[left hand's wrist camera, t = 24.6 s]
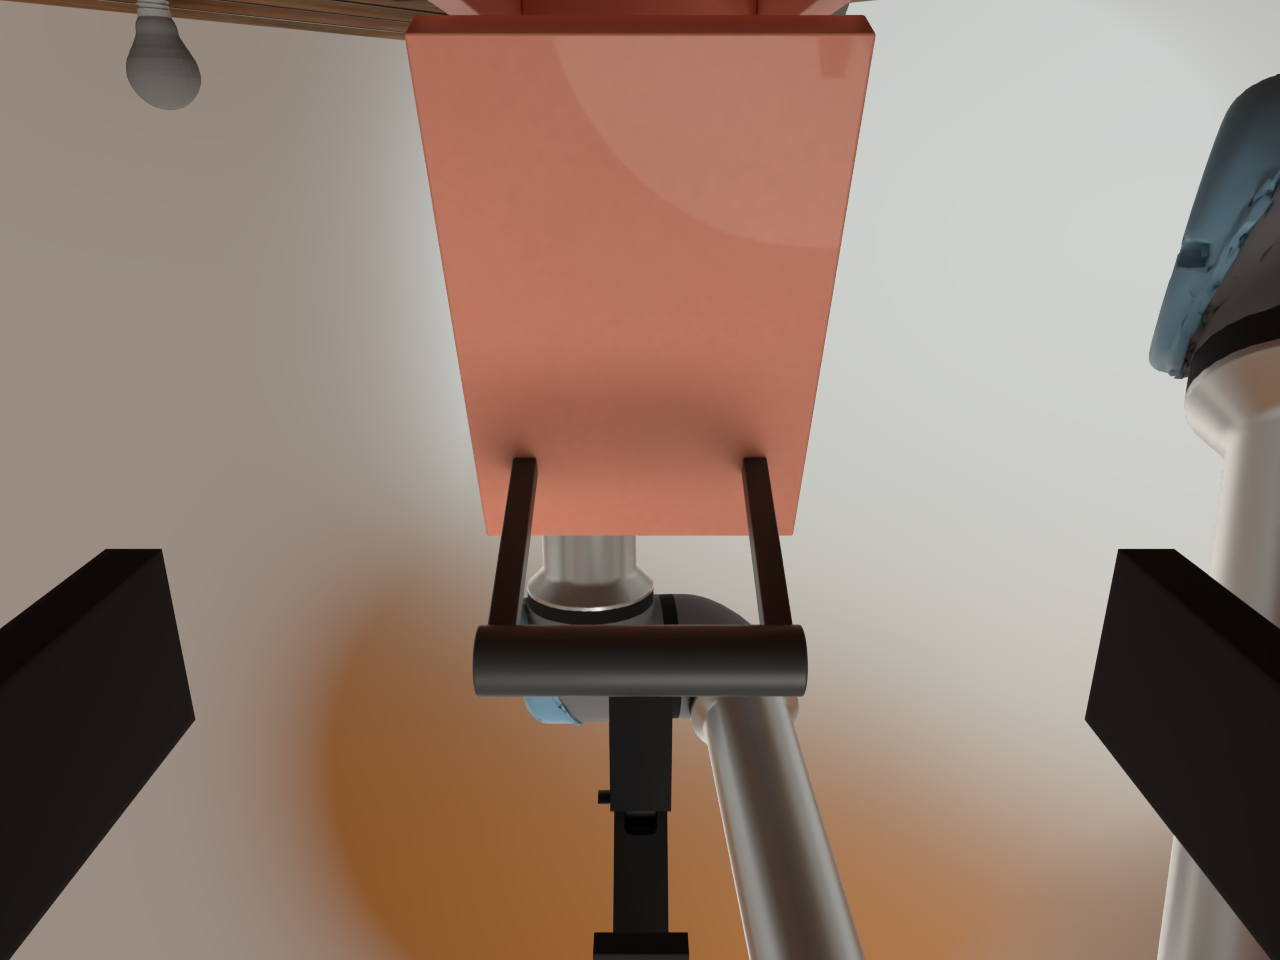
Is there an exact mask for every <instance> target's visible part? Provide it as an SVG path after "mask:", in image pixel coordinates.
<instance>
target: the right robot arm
mask: <svg viewBox="0 0 1280 960" xmlns="http://www.w3.org/2000/svg"><path fill="white" fill-rule="evenodd" d="M849 3H850V2H849ZM849 3H847V4H846V5H844V6H843V7H841V8H840V9H838V10H837V11H835V12H834V13H832V14H831V15H845V14H846V11H847V8H848V5H849ZM542 544H543V567H542V568H541V569H540V570H539V571H538V572H537V573H536V574H535V575H534V576H533V577H532V578H531V579H530V581H529V582H528V597H525V598H523V604H522V612H521V620H520V625H751V624H750V623H749V622H747V621H746V620H745V619H744V618H742V617H741V616H740V615H738V614H737V613H735V612H733V611H732V610H730V609H729V608H727V607H725V606H723V605H721V604H719V603H717V602H715V601H713V600H710V599H707V598H704V597H701V596H696V595H690V594H660V595H658V594H653V580H652V578H651V576H650V575H649V574H648V573H647V572H646V571H644V570H643V569H642V568H641V567H640V566H639V565H638V564H637V535H542ZM524 700H525V703H526V706H527V708H528V710H529V712H530V713H531V715H532V716H533V717H534V718H535V719H536V720H538V721H540V722H543V723H572V724H573V725H576V726H578V725H582V724H583V722H603V721H609V745H610V790H599V792H598V804H610V811H613V812H614V906H613V932H609V933H608V932H595V933H594V948H593V960H689V946H688V933H687V932H684V933H683V932H677V933H676V932H675V933H674V932H668V847H667V811H671V773H672V772H671V771H672V718H688V719H691V722H692V726H693V729H694V731H695V733H696V734H697V735H698V737H699V738H700V739H701V740H702V741H703V742H705V743H706V744H708V749H709V755H710V759H711V765H712V770H713V775H714V780H715V785H716V790H717V795H718V800H719V805H720V810H721V816H722V821H723V826H724V831H725V836H726V841H727V846H728V851H729V857H730V862H731V867H732V872H733V877H734V882H735V887H736V892H737V897H738V903H739V908H740V913H741V918H742V923H743V928H744V933H745V938H746V943H747V948H748V954H749V959H750V960H866V959H865V955H864V952H863V949H862V946H861V942H860V939H859V936H858V933H857V929H856V926H855V923H854V920H853V916H852V913H851V910H850V907H849V903H848V900H847V897H846V894H845V890H844V887H843V884H842V880H841V877H840V874H839V871H838V867H837V864H836V861H835V858H834V854H833V851H832V848H831V845H830V841H829V838H828V835H827V832H826V829H825V825H824V822H823V819H822V815H821V812H820V809H819V806H818V802H817V799H816V796H815V793H814V789H813V786H812V783H811V780H810V776H809V773H808V770H807V767H806V763H805V760H804V757H803V754H802V750H801V747H800V744H799V741H798V737H797V734H796V731H795V727H794V722H795V719H796V717H797V714H798V707H799V706H798V699H797V696H669V697H524Z"/></svg>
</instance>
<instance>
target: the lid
mask: <svg viewBox="0 0 1280 960" xmlns="http://www.w3.org/2000/svg"><path fill="white" fill-rule="evenodd" d="M405 40H406V47H407V53H408V59H409V65H410V71H411V77H412V83H413V89H414V95H415V101H416V107H417V113H418V119H419V125H420V132H421V138H422V144H423V150H424V156H425V162H426V168H427V174H428V180H429V186H430V192H431V198H432V204H433V211H434V217H435V223H436V229H437V235H438V241H439V247H440V253H441V259H442V265H443V271H444V277H445V284H446V289H447V295H448V302H449V308H450V314H451V320H452V326H453V332H454V338H455V344H456V350H457V356H458V363H459V369H460V374H461V381H462V387H463V393H464V399H465V405H466V411H467V417H468V423H469V429H470V435H471V442H472V448H473V454H474V460H475V466H476V472H477V478H478V484H479V490H480V496H481V502H482V508H483V514H484V521H485V527H486V533H487V535H501V541H500V548H499V554H498V561H497V568H496V574H495V581H494V587H493V594H492V601H491V607H490V614H489V620H488V625H480V626H479V627H478V629H477V632H476V635H475V641H474V648H473V684H474V690H475V693H476V695H477V696H479V697H669V696H803V695H804V693H805V691H806V686H807V676H808V658H807V646H806V639H805V634H804V631H803V628H802V626H801V625H792V618H791V612H790V605H789V599H788V592H787V586H786V579H785V573H784V567H783V560H782V554H781V547H780V541H779V535H792V534H793V530H794V524H795V518H796V512H797V506H798V500H799V494H800V488H801V482H802V476H803V470H804V464H805V458H806V452H807V446H808V440H809V433H810V427H811V421H812V415H813V409H814V403H815V397H816V391H817V385H818V379H819V373H820V367H821V361H822V355H823V349H824V343H825V337H826V331H827V325H828V319H829V313H830V307H831V301H832V295H833V289H834V283H835V277H836V271H837V265H838V258H839V252H840V246H841V240H842V234H843V228H844V222H845V216H846V210H847V204H848V198H849V192H850V186H851V180H852V174H853V168H854V162H855V156H856V150H857V144H858V138H859V132H860V126H861V120H862V113H863V108H864V102H865V95H866V89H867V83H868V77H869V71H870V65H871V59H872V53H873V47H874V41H875V33H874V31H873V29H872V27H871V26H870V24H869V22H868V21H867V19H866V17H865V16H864V15H416V16H415V17H414V19H413V20H412V22H411V24H410V26H409V27H408V29H407V31H406V33H405ZM531 535H749V538H750V546H751V554H752V563H753V571H754V579H755V587H756V596H757V604H758V612H759V620H760V625H520V620H521V612H522V604H523V595H524V587H525V578H526V570H527V562H528V553H529V545H530V536H531Z"/></svg>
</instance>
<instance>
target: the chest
mask: <svg viewBox="0 0 1280 960" xmlns="http://www.w3.org/2000/svg"><path fill="white" fill-rule="evenodd" d="M428 1H430V2H431V3H433V4H434V5H436V6H437V7H439V8H440V9H442V10H443V11H445V12H446V13H448V14H449V15H831V14H832V13H834V12H835V11H837V10H838V9H840V8H841V7H843V6H844V5H846V4H847V3H849V2H850V1H852V0H428Z"/></svg>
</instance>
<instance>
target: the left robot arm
mask: <svg viewBox="0 0 1280 960" xmlns="http://www.w3.org/2000/svg"><path fill="white" fill-rule="evenodd" d="M1149 361H1150V364H1151V365H1152V366H1153V367H1154V368H1155V369H1157V370H1159V371H1163V372H1166V373H1168V374H1169V375H1170V376H1175V378H1176V379H1183V378H1184V377H1188V382H1187V389H1186V396H1185V404H1184V409H1185V415H1186V419H1187V422H1188V424H1189V425H1190V427H1191V428H1192V429H1193V431H1194V432H1195V433H1196V434H1197V435H1198V436H1199V437H1200V438H1201V439H1202V440H1203V441H1204V442H1206V443H1207V444H1208V445H1209V446H1210V447H1211V448H1213V449H1214V450H1215V451H1216V452H1217V453H1219V454H1220V455H1221V456H1222V457H1223V459H1224V461H1223V469H1222V476H1221V484H1220V491H1219V499H1218V506H1217V514H1216V522H1215V529H1214V537H1213V544H1212V552H1211V559H1210V566H1209V574H1207V573H1205V572H1204V571H1203V570H1201V569H1200V568H1199V567H1197V566H1196V565H1195V564H1193V563H1192V562H1191V561H1189V560H1188V559H1187V558H1185V557H1184V556H1183V555H1181V554H1180V553H1179V552H1177V551H1176V550H1175V549H1118V553H1117V558H1116V563H1115V569H1114V574H1113V579H1112V584H1111V589H1110V594H1109V599H1108V604H1107V609H1106V614H1105V619H1104V624H1103V629H1102V634H1101V640H1100V645H1099V650H1098V655H1097V660H1096V665H1095V670H1094V675H1093V680H1092V685H1091V690H1090V695H1089V700H1088V705H1087V711H1086V716H1085V721H1086V722H1087V723H1088V724H1089V726H1090V727H1091V728H1092V730H1093V731H1094V732H1095V733H1096V735H1097V736H1098V737H1099V739H1100V740H1101V741H1102V743H1103V744H1104V745H1105V746H1106V748H1107V749H1108V750H1109V752H1110V753H1111V754H1112V755H1113V757H1114V758H1115V759H1116V761H1117V762H1118V763H1119V764H1120V766H1121V767H1122V768H1123V770H1124V771H1125V772H1126V774H1127V775H1128V776H1129V777H1130V779H1131V780H1132V781H1133V783H1134V784H1135V785H1136V786H1137V788H1138V789H1139V790H1140V792H1141V793H1142V794H1143V795H1144V797H1145V798H1146V799H1147V801H1148V802H1149V803H1150V804H1151V806H1152V807H1153V808H1154V810H1155V811H1156V812H1157V814H1158V815H1159V816H1160V817H1161V819H1162V820H1163V821H1164V823H1165V824H1166V825H1167V826H1168V828H1169V829H1170V830H1171V832H1172V833H1173V834H1174V837H1173V845H1172V852H1171V860H1170V867H1169V874H1168V882H1167V889H1166V897H1165V905H1164V912H1163V920H1162V927H1161V935H1160V942H1159V950H1158V957H1157V960H1280V74H1277V75H1276V76H1273V77H1269V78H1267V79H1264V80H1262V81H1260V82H1259V83H1257V84H1255V85H1252V86H1251V87H1249V88H1248V89H1246V90H1245V91H1244V92H1243V93H1242V94H1241V95H1240V96H1239V97H1237V98H1236V99H1235V101H1234V102H1233V103H1232V104H1231V106H1230V108H1229V109H1228V111H1227V112H1226V115H1225V117H1224V119H1223V121H1222V124H1221V126H1220V129H1219V131H1218V134H1217V137H1216V139H1215V142H1214V145H1213V148H1212V150H1211V153H1210V156H1209V159H1208V162H1207V165H1206V168H1205V170H1204V173H1203V177H1202V180H1201V183H1200V186H1199V189H1198V192H1197V195H1196V198H1195V201H1194V204H1193V207H1192V210H1191V214H1190V217H1189V220H1188V223H1187V227H1186V230H1185V233H1184V237H1183V240H1182V247H1181V250H1180V253H1179V254H1178V256H1177V260H1176V263H1175V266H1174V270H1173V273H1172V276H1171V279H1170V281H1169V284H1168V287H1167V290H1166V293H1165V297H1164V300H1163V303H1162V307H1161V310H1160V314H1159V317H1158V321H1157V324H1156V328H1155V332H1154V335H1153V339H1152V343H1151V347H1150V352H1149ZM194 721H195V716H194V711H193V705H192V700H191V695H190V690H189V685H188V680H187V675H186V670H185V665H184V660H183V655H182V650H181V645H180V640H179V634H178V629H177V624H176V619H175V614H174V609H173V604H172V599H171V594H170V589H169V584H168V579H167V574H166V569H165V564H164V558H163V553H162V549H105V550H104V551H103V552H101V553H100V554H99V555H97V556H96V557H95V558H93V559H92V560H91V561H89V562H88V563H87V564H85V565H84V566H83V567H81V568H80V569H79V570H77V571H76V572H75V573H73V574H72V575H71V576H69V577H68V578H67V579H65V580H64V581H63V582H62V583H60V584H59V585H58V586H56V587H55V588H54V589H52V590H51V591H50V592H48V593H47V594H46V595H44V596H43V597H42V598H40V599H39V600H38V601H36V602H35V603H34V604H32V605H31V606H30V607H28V608H27V609H26V610H24V611H23V612H22V613H20V614H19V615H18V616H16V617H15V618H14V619H13V620H11V621H10V622H9V623H7V624H6V625H5V626H3V627H2V628H1V629H0V960H9V959H10V958H11V957H12V955H13V954H14V953H15V952H16V950H17V949H18V948H19V946H20V945H21V944H22V943H23V941H24V940H25V939H26V937H27V936H28V935H29V934H30V932H31V931H32V930H33V928H34V927H35V926H36V925H37V923H38V922H39V921H40V919H41V918H42V917H43V916H44V914H45V913H46V912H47V910H48V909H49V908H50V906H51V905H52V904H53V903H54V901H55V900H56V899H57V897H58V896H59V895H60V893H61V892H62V891H63V890H64V888H65V887H66V886H67V885H68V883H69V882H70V881H71V879H72V878H73V877H74V876H75V874H76V873H77V872H78V870H79V869H80V868H81V866H82V865H83V864H84V863H85V861H86V860H87V859H88V857H89V856H90V855H91V854H92V852H93V851H94V850H95V848H96V847H97V846H98V844H99V843H100V842H101V841H102V839H103V838H104V837H105V835H106V834H107V833H108V832H109V830H110V829H111V828H112V826H113V825H114V824H115V823H116V821H117V820H118V819H119V817H120V816H121V815H122V814H123V812H124V811H125V810H126V808H127V807H128V806H129V804H130V803H131V802H132V801H133V799H134V798H135V797H136V795H137V794H138V793H139V792H140V790H141V789H142V788H143V786H144V785H145V784H146V783H147V781H148V780H149V779H150V777H151V776H152V775H153V774H154V772H155V771H156V770H157V768H158V767H159V766H160V764H161V763H162V762H163V761H164V759H165V758H166V757H167V755H168V754H169V753H170V751H171V750H172V749H173V748H174V746H175V745H176V744H177V743H178V741H179V740H180V739H181V737H182V736H183V735H184V733H185V732H186V731H187V730H188V728H189V727H190V726H191V724H192V723H193V722H194Z"/></svg>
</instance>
